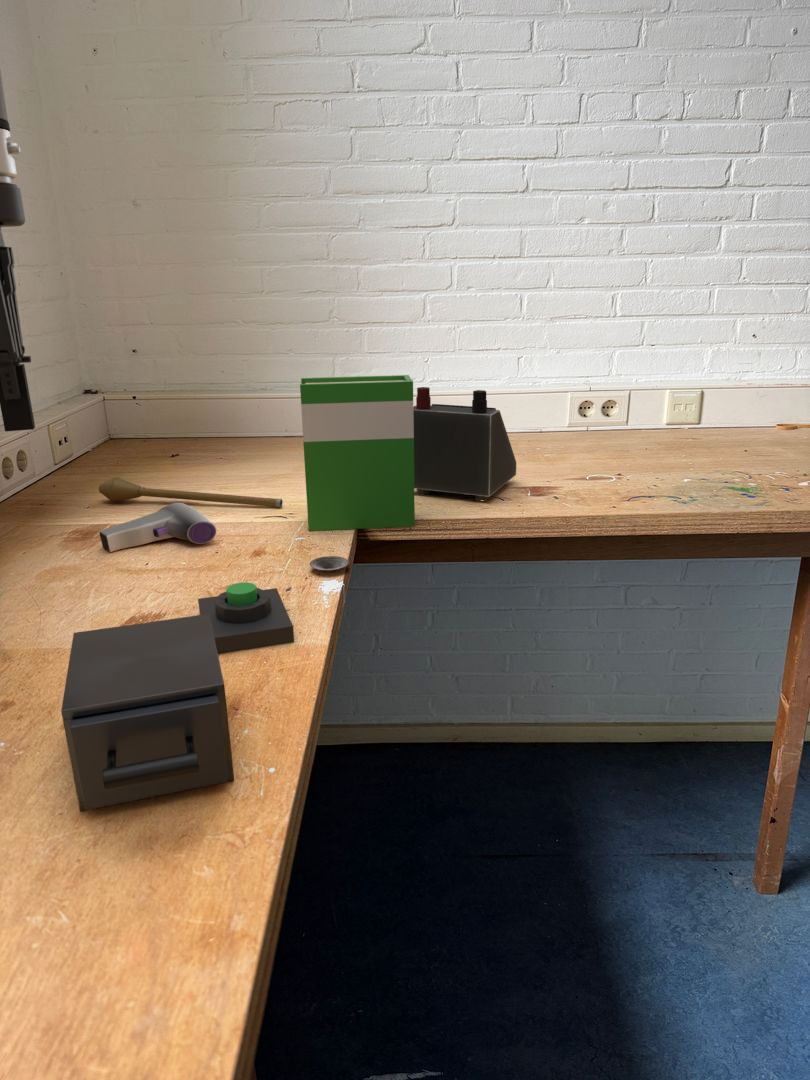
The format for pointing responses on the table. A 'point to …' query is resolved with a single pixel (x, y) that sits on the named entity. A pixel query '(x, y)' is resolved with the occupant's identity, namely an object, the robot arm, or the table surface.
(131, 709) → the drawer
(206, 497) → the panzerfaust
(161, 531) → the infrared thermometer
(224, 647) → the control block
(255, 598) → the button
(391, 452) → the green cereal box
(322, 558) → the small grey dish
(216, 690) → the cabinet
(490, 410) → the voltmeter
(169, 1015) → the table surface
